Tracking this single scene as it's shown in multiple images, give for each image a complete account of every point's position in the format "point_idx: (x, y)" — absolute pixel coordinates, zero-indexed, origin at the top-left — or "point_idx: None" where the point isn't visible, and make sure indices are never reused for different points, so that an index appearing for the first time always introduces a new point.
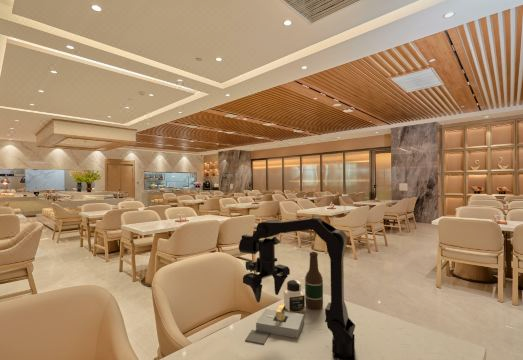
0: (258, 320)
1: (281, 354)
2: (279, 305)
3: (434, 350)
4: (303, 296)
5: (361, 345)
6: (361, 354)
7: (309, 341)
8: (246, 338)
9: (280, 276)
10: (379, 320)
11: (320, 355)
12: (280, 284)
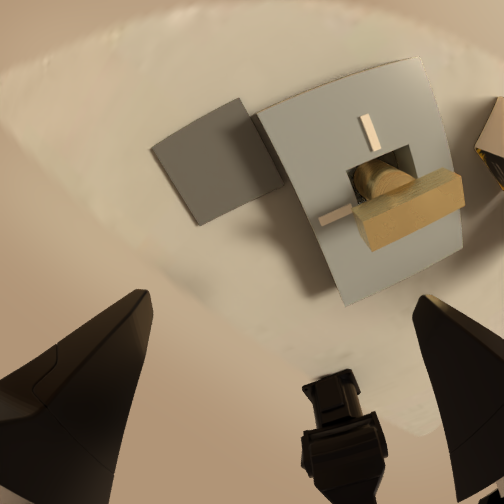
0: (288, 105)
1: (210, 304)
2: (438, 188)
3: (415, 423)
4: None
5: (387, 385)
6: None
7: (339, 318)
8: (163, 142)
9: (495, 481)
10: None
11: (293, 366)
12: (446, 432)
